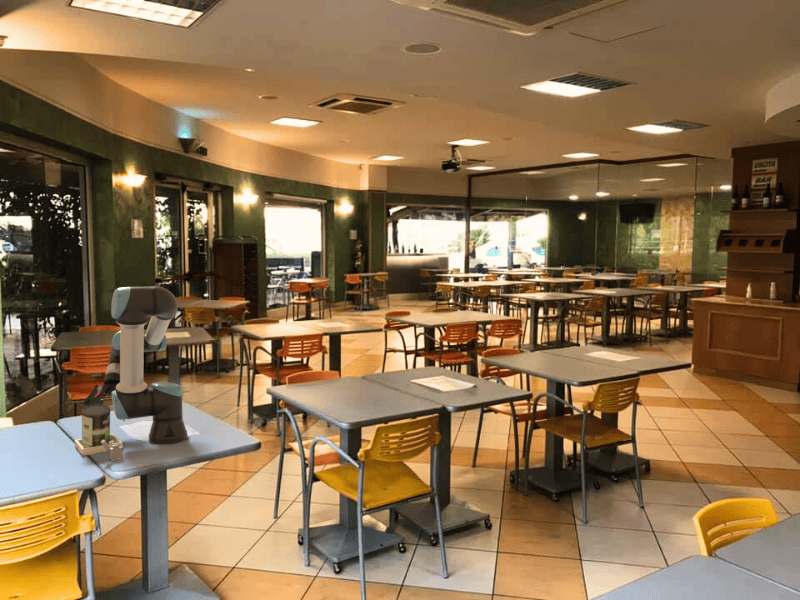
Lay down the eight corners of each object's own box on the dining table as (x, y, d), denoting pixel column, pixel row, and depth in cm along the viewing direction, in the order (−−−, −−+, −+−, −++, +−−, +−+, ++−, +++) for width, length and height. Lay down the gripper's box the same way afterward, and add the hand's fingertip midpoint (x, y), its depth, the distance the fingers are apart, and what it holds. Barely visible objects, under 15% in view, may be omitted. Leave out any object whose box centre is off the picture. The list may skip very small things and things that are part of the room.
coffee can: (113, 437, 272) (114, 405, 268) (104, 449, 262) (105, 416, 258) (87, 435, 271) (87, 403, 267) (77, 447, 261) (77, 414, 257)
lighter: (121, 457, 253) (120, 436, 252) (122, 458, 252) (121, 437, 251) (101, 461, 249) (100, 440, 248) (102, 462, 247) (101, 441, 247)
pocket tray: (122, 449, 263) (122, 442, 263) (82, 455, 254) (82, 449, 254) (113, 440, 275) (113, 433, 275) (74, 446, 266) (74, 439, 266)
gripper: (146, 380, 292) (139, 423, 279) (86, 381, 289) (76, 425, 275) (143, 370, 287) (136, 414, 273) (81, 372, 283) (71, 416, 270)
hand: (105, 420), depth 274 cm, fingers open, 13 cm apart
